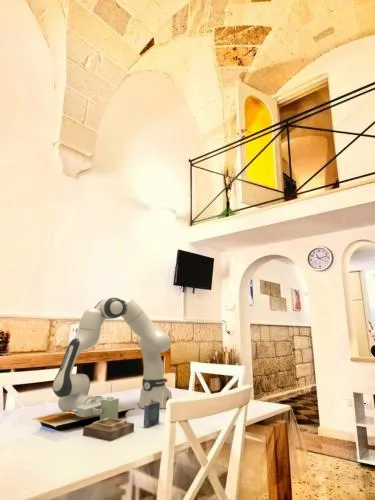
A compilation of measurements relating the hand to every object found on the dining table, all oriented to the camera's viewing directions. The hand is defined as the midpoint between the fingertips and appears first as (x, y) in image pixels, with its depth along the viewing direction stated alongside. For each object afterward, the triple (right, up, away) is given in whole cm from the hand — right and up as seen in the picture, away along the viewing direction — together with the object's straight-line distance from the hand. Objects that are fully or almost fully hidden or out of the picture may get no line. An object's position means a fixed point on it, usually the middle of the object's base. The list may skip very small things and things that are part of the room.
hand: (109, 409), depth 146 cm
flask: (+19, -5, -4) cm, 20 cm away
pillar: (0, -5, -1) cm, 6 cm away
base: (+3, -2, -15) cm, 16 cm away
